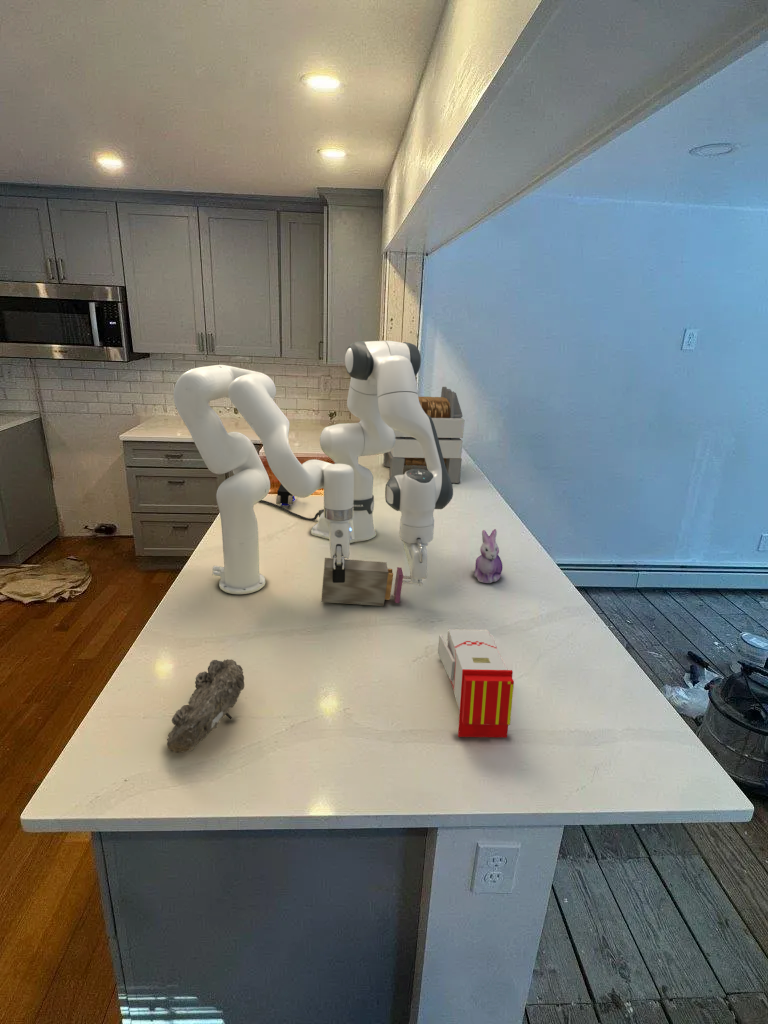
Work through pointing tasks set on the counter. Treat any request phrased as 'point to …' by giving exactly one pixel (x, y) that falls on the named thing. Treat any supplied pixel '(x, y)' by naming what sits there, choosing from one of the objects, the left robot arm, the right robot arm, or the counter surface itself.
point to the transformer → (448, 432)
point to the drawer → (398, 584)
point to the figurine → (488, 559)
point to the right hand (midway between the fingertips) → (413, 579)
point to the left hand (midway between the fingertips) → (338, 575)
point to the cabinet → (356, 583)
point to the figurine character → (284, 497)
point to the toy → (478, 682)
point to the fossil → (206, 705)
